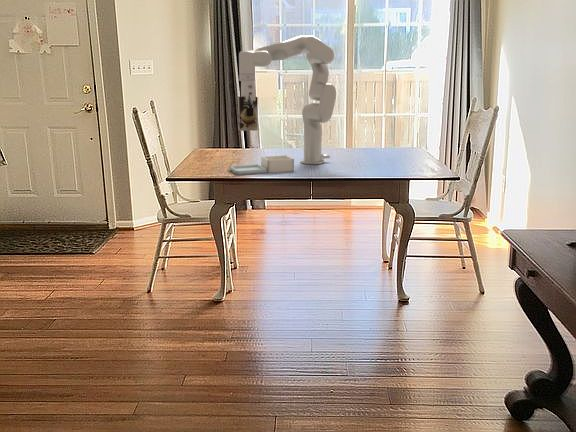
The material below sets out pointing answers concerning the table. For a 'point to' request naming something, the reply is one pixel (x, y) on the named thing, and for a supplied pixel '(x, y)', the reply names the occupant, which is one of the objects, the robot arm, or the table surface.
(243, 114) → the coffee box
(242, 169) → the tray
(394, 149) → the table surface
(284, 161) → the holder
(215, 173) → the table surface
